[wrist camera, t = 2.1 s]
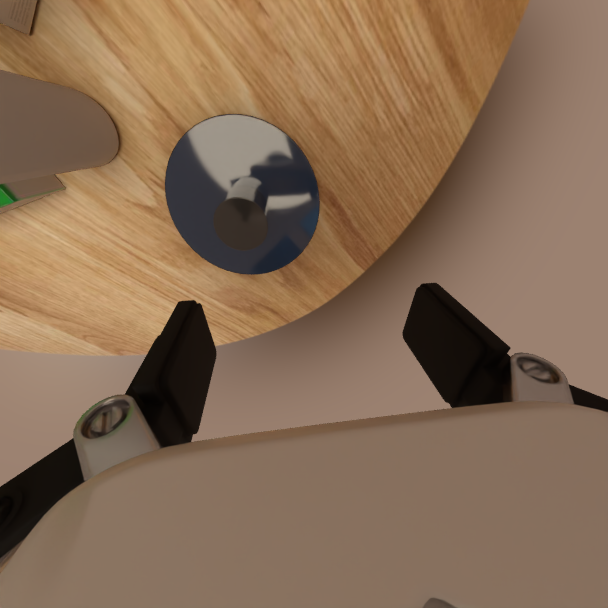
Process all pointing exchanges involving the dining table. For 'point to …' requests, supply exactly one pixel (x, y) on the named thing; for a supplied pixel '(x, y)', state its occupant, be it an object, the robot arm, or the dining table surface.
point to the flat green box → (27, 191)
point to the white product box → (17, 14)
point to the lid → (242, 194)
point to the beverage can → (50, 129)
